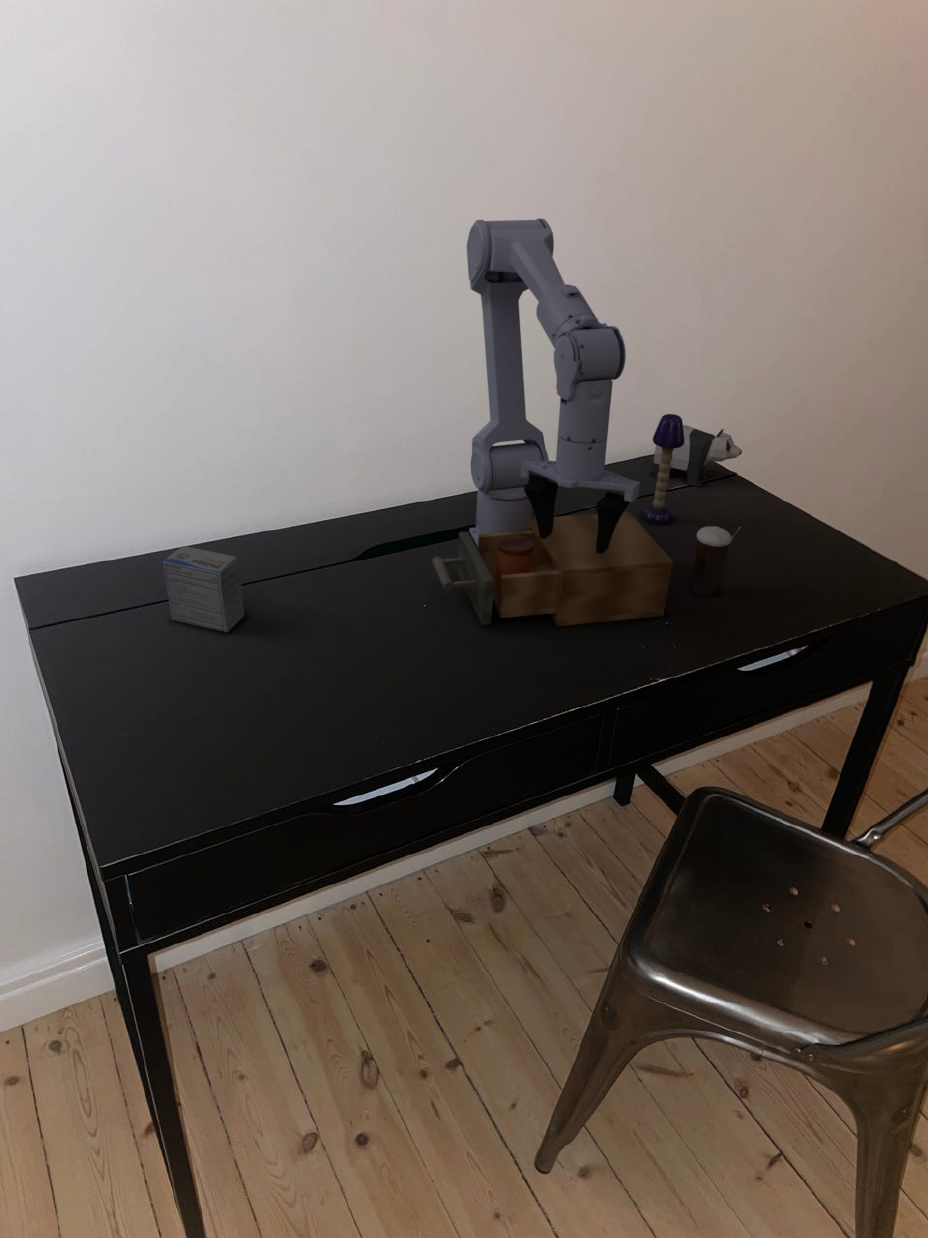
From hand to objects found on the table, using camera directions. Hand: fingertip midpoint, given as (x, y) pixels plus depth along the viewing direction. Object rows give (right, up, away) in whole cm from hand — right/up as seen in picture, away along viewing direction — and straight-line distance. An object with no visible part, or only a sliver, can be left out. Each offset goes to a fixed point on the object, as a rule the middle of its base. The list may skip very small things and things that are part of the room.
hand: (573, 543), depth 117 cm
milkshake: (+20, -5, +14) cm, 25 cm away
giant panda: (+25, +15, +46) cm, 55 cm away
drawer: (-8, -6, +9) cm, 13 cm away
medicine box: (-45, -9, +3) cm, 46 cm away
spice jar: (-7, -5, +8) cm, 12 cm away
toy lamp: (+17, +6, +32) cm, 37 cm away
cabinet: (+4, -6, +12) cm, 14 cm away
